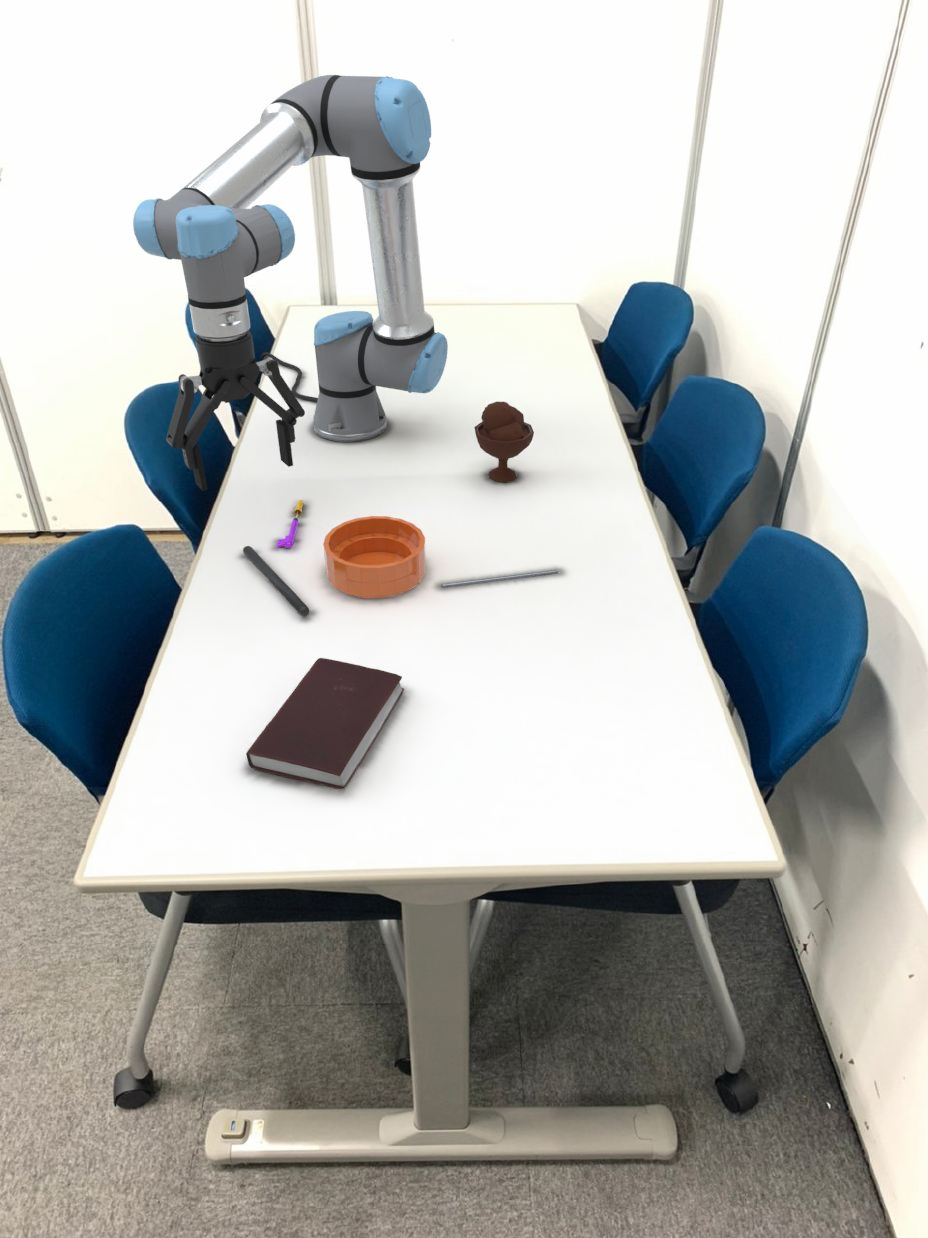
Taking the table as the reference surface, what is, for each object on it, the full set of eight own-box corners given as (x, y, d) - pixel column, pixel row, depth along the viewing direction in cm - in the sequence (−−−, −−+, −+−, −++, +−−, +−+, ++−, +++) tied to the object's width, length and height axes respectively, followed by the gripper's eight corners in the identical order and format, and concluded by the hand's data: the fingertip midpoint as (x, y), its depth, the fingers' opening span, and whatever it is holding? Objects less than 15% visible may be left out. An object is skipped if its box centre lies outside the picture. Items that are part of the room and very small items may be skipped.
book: (247, 769, 107) (243, 749, 105) (319, 672, 122) (317, 653, 120) (343, 794, 104) (341, 774, 102) (404, 692, 118) (404, 672, 117)
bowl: (309, 566, 143) (306, 533, 140) (393, 538, 151) (391, 507, 147) (357, 612, 133) (355, 579, 130) (444, 580, 140) (444, 547, 137)
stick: (231, 605, 145) (242, 544, 146) (239, 607, 146) (250, 546, 147) (301, 615, 131) (313, 548, 131) (310, 617, 132) (322, 550, 132)
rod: (440, 586, 139) (440, 583, 139) (556, 572, 143) (556, 568, 143) (441, 589, 139) (441, 585, 138) (557, 574, 142) (558, 571, 142)
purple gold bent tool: (293, 548, 147) (305, 502, 160) (290, 542, 147) (303, 496, 160) (277, 551, 148) (291, 505, 161) (275, 545, 147) (288, 500, 160)
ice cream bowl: (527, 491, 165) (531, 415, 156) (468, 485, 166) (468, 409, 158) (535, 466, 173) (539, 392, 164) (478, 461, 175) (480, 387, 166)
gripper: (140, 359, 112) (173, 508, 125) (318, 323, 124) (331, 462, 136) (122, 342, 117) (154, 487, 130) (294, 309, 129) (309, 444, 141)
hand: (245, 474), depth 133 cm, fingers open, 13 cm apart
